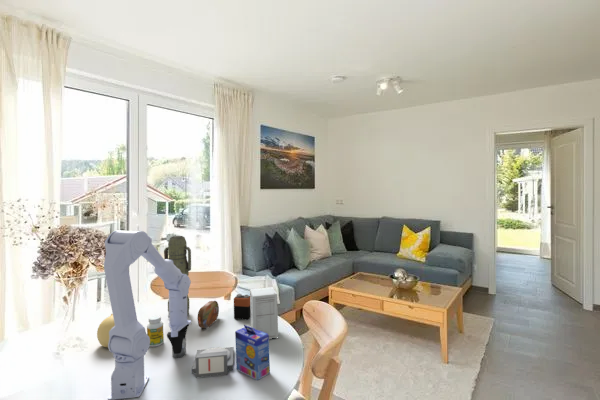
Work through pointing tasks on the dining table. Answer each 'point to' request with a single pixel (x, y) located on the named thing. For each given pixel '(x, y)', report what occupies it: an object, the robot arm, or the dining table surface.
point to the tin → (208, 314)
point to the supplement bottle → (155, 331)
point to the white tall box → (264, 311)
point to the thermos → (179, 257)
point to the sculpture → (105, 330)
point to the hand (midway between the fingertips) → (179, 349)
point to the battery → (242, 307)
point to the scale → (213, 362)
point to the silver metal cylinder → (183, 351)
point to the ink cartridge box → (252, 352)
